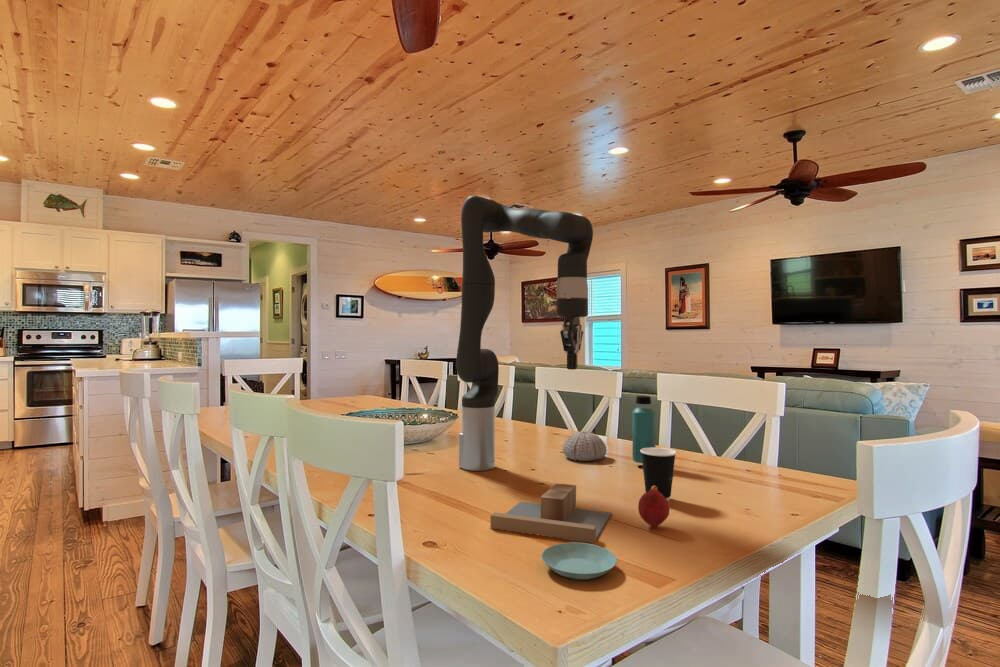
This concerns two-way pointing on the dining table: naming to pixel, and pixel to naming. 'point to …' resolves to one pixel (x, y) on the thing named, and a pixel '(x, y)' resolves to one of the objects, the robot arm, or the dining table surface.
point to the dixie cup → (658, 469)
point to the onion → (653, 507)
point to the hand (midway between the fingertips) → (572, 369)
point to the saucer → (579, 560)
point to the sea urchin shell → (584, 447)
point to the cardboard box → (558, 502)
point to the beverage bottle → (643, 428)
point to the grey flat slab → (552, 522)
